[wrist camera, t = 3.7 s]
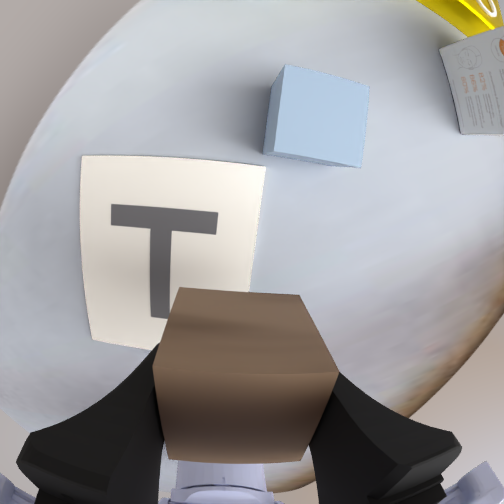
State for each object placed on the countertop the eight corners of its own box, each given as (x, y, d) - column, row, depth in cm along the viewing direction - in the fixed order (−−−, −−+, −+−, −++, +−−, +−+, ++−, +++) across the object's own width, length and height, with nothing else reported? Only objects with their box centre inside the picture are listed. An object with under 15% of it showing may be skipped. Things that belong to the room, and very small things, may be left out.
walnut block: (280, 381, 13) (300, 460, 8) (181, 376, 13) (168, 459, 8) (299, 294, 12) (339, 371, 7) (179, 286, 11) (152, 366, 6)
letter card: (239, 355, 21) (239, 359, 20) (94, 336, 19) (92, 339, 19) (264, 166, 17) (265, 166, 16) (84, 155, 15) (81, 155, 15)
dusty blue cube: (330, 165, 17) (361, 168, 13) (262, 154, 17) (273, 151, 12) (338, 101, 16) (369, 86, 12) (271, 87, 15) (285, 64, 11)
